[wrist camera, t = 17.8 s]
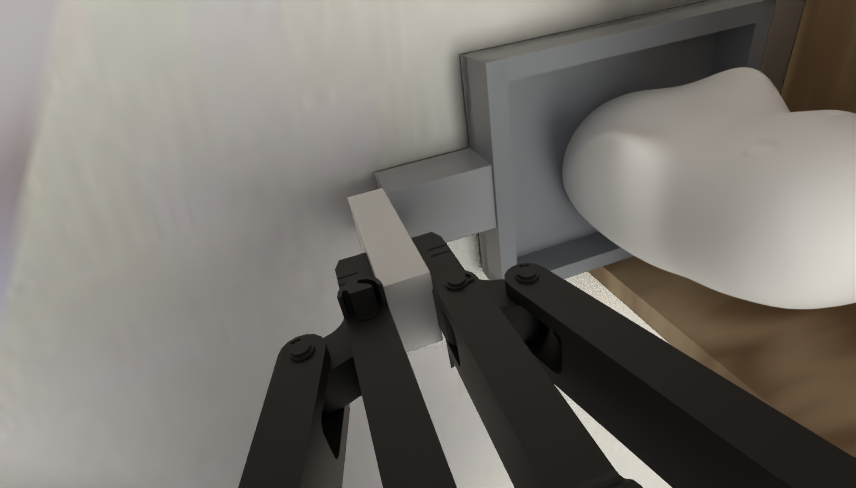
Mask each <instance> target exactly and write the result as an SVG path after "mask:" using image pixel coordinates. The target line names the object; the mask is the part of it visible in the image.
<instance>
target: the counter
mask: <svg viewBox="0 0 856 488" xmlns="http://www.w3.org/2000/svg"><path fill="white" fill-rule="evenodd" d="M781 97H782V99H783V100H784V102H785V104H786V106H787V107H788V109H789V111H790V112H801V111H816V110H840V111H847V112H851V113H856V0H806V2H805V6H804V10H803V13H802V17H801V21H800V24H799V28H798V32H797V35H796V39H795V43H794V47H793V50H792V54H791V58H790V61H789V65H788V69H787V73H786V76H785V80H784V84H783V87H782V91H781ZM588 272H589V273H590V274H591V275H592V276H593V277H595V278H596V279H597V280H598V281H599V282H600V283H601V284H603V285H604V286H605V287H606V288H607V289H608V290H609V291H610V292H612V293H613V294H614V295H615V296H616V297H617V298H618V299H620V300H621V301H622V302H623V303H624V304H625V305H626V306H628V307H629V308H630V309H631V310H632V311H633V312H634V313H635V314H637V315H638V316H639V317H640V318H641V319H642V320H643V321H645V322H646V323H647V324H648V325H649V326H650V327H651V328H652V329H654V330H655V331H656V332H657V333H658V334H659V335H660V336H662V337H663V338H664V339H665V340H666V341H667V342H668V343H669V344H671V345H672V346H673V347H675V348H677V349H678V350H680V351H682V352H683V353H685V354H686V355H688V356H690V357H691V358H693V359H695V360H696V361H698V362H699V363H701V364H703V365H704V366H706V367H708V368H709V369H711V370H713V371H714V372H716V373H717V374H719V375H721V376H722V377H724V378H726V379H727V380H729V381H730V382H732V383H734V384H735V385H737V386H739V387H740V388H742V389H744V390H745V391H747V392H748V393H750V394H752V395H753V396H755V397H757V398H758V399H760V400H761V401H763V402H765V403H766V404H768V405H770V406H771V407H773V408H775V409H776V410H778V411H779V412H781V413H783V414H784V415H786V416H788V417H789V418H791V419H792V420H794V421H796V422H797V423H799V424H801V425H802V426H804V427H806V428H807V429H809V430H810V431H812V432H814V433H815V434H817V435H819V436H820V437H822V438H823V439H825V440H827V441H828V442H830V443H832V444H833V445H835V446H837V447H838V448H840V449H841V450H843V451H845V452H846V453H848V454H850V455H851V456H853V457H856V303H852V304H847V305H842V306H835V307H827V308H818V309H787V308H779V307H773V306H768V305H763V304H759V303H755V302H751V301H747V300H743V299H740V298H736V297H733V296H730V295H727V294H724V293H721V292H718V291H715V290H713V289H711V288H708V287H706V286H704V285H702V284H700V283H697V282H695V281H693V280H691V279H689V278H686V277H683V276H681V275H678V274H674V273H671V272H668V271H666V270H663V269H660V268H658V267H656V266H653V265H651V264H649V263H647V262H645V261H643V260H641V259H639V258H637V257H636V256H632V257H629V258H626V259H623V260H620V261H617V262H614V263H611V264H608V265H605V266H602V267H599V268H596V269H593V270H590V271H588Z"/></svg>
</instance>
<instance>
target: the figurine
mask: <svg viewBox="0 0 856 488" xmlns="http://www.w3.org/2000/svg"><path fill="white" fill-rule="evenodd" d="M562 180H563V185H564V189H565V191H566V193H567V195H568V197H569V199H570V201H571V203H572V204H573V206H574V207H575V208H576V210H577V211H578V212H579V213H580V214H581V215H582V217H583V218H584V219H585V220H586V221H588V222H589V223H590V224H591V225H592V226H593V227H594V228H595V229H597V230H598V231H599V232H600V233H601V234H603V235H604V236H605V237H607V238H608V239H609V240H611V241H612V242H614V243H615V244H616V245H618V246H619V247H621V248H622V249H624V250H626V251H627V252H629V253H630V254H632V255H634V256H636V257H637V258H639V259H641V260H643V261H645V262H647V263H649V264H651V265H653V266H656V267H658V268H660V269H663V270H666V271H668V272H671V273H674V274H678V275H681V276H683V277H686V278H689V279H691V280H693V281H695V282H697V283H700V284H702V285H704V286H706V287H708V288H711V289H713V290H715V291H718V292H721V293H724V294H727V295H730V296H733V297H736V298H740V299H743V300H747V301H751V302H755V303H759V304H763V305H768V306H773V307H779V308H787V309H818V308H827V307H835V306H842V305H847V304H852V303H856V113H851V112H847V111H840V110H816V111H801V112H790V111H789V109H788V107H787V106H786V104H785V102H784V100H783V99H782V97H781V95H780V94H779V92H778V90H777V89H776V87H775V86H774V85H773V83H772V82H771V81H770V79H769V78H768V77H767V76H765V75H764V74H763V73H762V72H760V71H758V70H756V69H753V68H747V67H740V68H733V69H729V70H726V71H723V72H720V73H717V74H714V75H712V76H709V77H707V78H704V79H701V80H699V81H696V82H692V83H689V84H685V85H681V86H676V87H670V88H662V89H651V90H642V91H637V92H632V93H628V94H625V95H622V96H619V97H616V98H614V99H612V100H609V101H607V102H605V103H604V104H602V105H600V106H599V107H598V108H596V109H595V110H594V111H592V112H591V113H590V114H589V115H588V116H587V117H586V118H585V119H584V120H583V121H582V123H581V124H580V125H579V127H578V128H577V129H576V131H575V132H574V134H573V136H572V138H571V139H570V142H569V144H568V146H567V149H566V152H565V155H564V159H563V165H562Z"/></svg>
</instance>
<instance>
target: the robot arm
mask: <svg viewBox="0 0 856 488" xmlns="http://www.w3.org/2000/svg"><path fill="white" fill-rule="evenodd" d="M347 198H348V202H349V205H350V209H351V212H352V216H353V219H354V223H355V226H356V230H357V233H358V237H359V240H360V244H361V247H362V251H363V253H362V254H359V255H356V256H352V257H349V258H345V259H342V260H339V262H338V264H337V267H336V269H335V271H336V276H337V280H338V285H339V289H340V290H339V291H338V296H337V298H338V301H339V304H340V307H341V310H342V313H343V316H344V320H343V322H342V324H341V325H340V326H339V327H338V328H337V329H336V330H335V331H334V332H332V333H331V334H330V335H328V336H326V337H324V338H322V337H321V336H318V335H315V334H305V335H302V336H298V337H296V338H294V339H293V340H291V341H289V342H288V343H287V344H286V345H285V346H284V347H283V348H282V349H281V351H280V353H279V355H278V357H277V361H276V364H275V367H274V371H273V374H272V377H271V381H270V384H269V387H268V391H267V394H266V397H265V401H264V404H263V407H262V411H261V414H260V417H259V421H258V424H257V427H256V431H255V434H254V437H253V441H252V444H251V447H250V451H249V454H248V457H247V461H246V464H245V467H244V471H243V474H242V477H241V481H240V484H239V487H238V488H342V480H343V471H344V461H345V451H346V441H347V431H348V421H349V412H350V407H349V403H351V402H352V401H354V400H355V399H357V398H358V397H359V396H361V395H362V397H363V402H364V406H365V410H366V415H367V419H368V423H369V428H370V432H371V437H372V441H373V445H374V450H375V454H376V459H377V463H378V467H379V472H380V476H381V481H382V485H383V488H457V487H456V484H455V482H454V479H453V476H452V474H451V471H450V468H449V466H448V463H447V460H446V458H445V455H444V452H443V450H442V447H441V444H440V442H439V439H438V436H437V434H436V431H435V428H434V426H433V423H432V420H431V418H430V415H429V412H428V410H427V407H426V404H425V402H424V399H423V396H422V394H421V391H420V388H419V386H418V383H417V380H416V378H415V375H414V372H413V370H412V367H411V365H410V362H409V359H408V357H407V354H406V352H409V351H411V350H414V349H417V348H420V347H423V346H426V345H429V344H432V343H435V342H438V341H441V340H443V337H442V332H443V334H444V336H445V338H446V343H447V348H448V353H449V359H450V364H451V368H452V367H455V366H456V368H457V370H458V372H459V374H460V376H461V378H462V381H463V383H464V385H465V387H466V389H467V391H468V393H469V395H470V397H471V399H472V401H473V403H474V405H475V407H476V409H477V411H478V413H479V415H480V417H481V420H482V422H483V424H484V426H485V428H486V430H487V432H488V434H489V436H490V438H491V440H492V442H493V444H494V446H495V448H496V450H497V452H498V454H499V456H500V459H501V461H502V463H503V465H504V467H505V469H506V471H507V473H508V475H509V477H510V479H511V481H512V483H513V485H514V487H515V488H643V487H642V486H641V485H640V484H638V483H637V482H636V481H634V480H632V479H625V478H623V477H622V476H620V475H619V474H618V472H617V471H616V470H615V469H614V467H613V466H612V465H611V463H610V462H609V460H608V459H607V458H606V456H605V455H604V453H603V452H602V451H601V449H600V448H599V446H598V445H597V444H596V442H595V441H594V439H593V438H592V437H591V435H590V434H589V432H588V431H587V430H586V428H585V427H584V425H583V424H582V423H581V421H580V420H579V418H578V417H577V416H576V414H575V413H574V411H573V410H572V409H571V407H570V406H569V404H568V403H567V402H566V400H565V399H564V397H563V396H562V395H561V393H560V392H559V390H558V389H557V388H556V386H557V387H558V388H559V389H561V390H562V391H563V392H564V393H565V394H566V395H567V396H569V397H570V398H571V399H572V400H573V401H574V402H575V403H577V404H578V405H579V406H580V407H581V408H582V409H583V410H585V411H586V412H587V413H588V414H589V415H590V416H591V417H593V418H594V419H595V420H596V421H597V422H598V423H599V424H601V425H602V426H603V427H604V428H605V429H606V430H607V431H609V432H610V433H611V434H612V435H613V436H614V437H615V438H617V439H618V440H619V441H620V442H621V443H622V444H623V445H624V446H626V447H627V448H628V449H629V450H630V451H631V452H632V453H634V454H635V455H636V456H637V457H638V458H639V459H640V460H642V461H643V462H644V463H645V464H646V465H647V466H648V467H650V468H651V469H652V470H653V471H654V472H655V473H656V474H658V475H659V476H660V477H661V478H662V479H663V480H664V481H666V482H667V483H668V484H669V485H670V486H671V487H672V488H856V457H853V456H851V455H850V454H848V453H846V452H845V451H843V450H841V449H840V448H838V447H837V446H835V445H833V444H832V443H830V442H828V441H827V440H825V439H823V438H822V437H820V436H819V435H817V434H815V433H814V432H812V431H810V430H809V429H807V428H806V427H804V426H802V425H801V424H799V423H797V422H796V421H794V420H792V419H791V418H789V417H788V416H786V415H784V414H783V413H781V412H779V411H778V410H776V409H775V408H773V407H771V406H770V405H768V404H766V403H765V402H763V401H761V400H760V399H758V398H757V397H755V396H753V395H752V394H750V393H748V392H747V391H745V390H744V389H742V388H740V387H739V386H737V385H735V384H734V383H732V382H730V381H729V380H727V379H726V378H724V377H722V376H721V375H719V374H717V373H716V372H714V371H713V370H711V369H709V368H708V367H706V366H704V365H703V364H701V363H699V362H698V361H696V360H695V359H693V358H691V357H690V356H688V355H686V354H685V353H683V352H682V351H680V350H678V349H677V348H675V347H673V346H672V345H670V344H668V343H667V342H665V341H664V340H662V339H660V338H659V337H657V336H655V335H654V334H652V333H651V332H649V331H647V330H646V329H644V328H642V327H641V326H639V325H637V324H636V323H634V322H633V321H631V320H629V319H628V318H626V317H624V316H623V315H621V314H620V313H618V312H616V311H615V310H613V309H611V308H610V307H608V306H606V305H605V304H603V303H602V302H600V301H598V300H597V299H595V298H593V297H592V296H590V295H589V294H587V293H585V292H584V291H582V290H580V289H579V288H577V287H575V286H574V285H572V284H571V283H569V282H567V281H566V280H564V279H562V278H561V277H559V276H558V275H556V274H554V273H553V272H551V271H549V270H548V269H546V268H544V267H543V266H540V265H538V264H533V263H521V264H517V265H514V266H512V267H511V268H509V269H508V270H507V271H506V273H505V275H504V277H505V279H498V280H480V279H478V277H477V276H476V275H475V274H473V273H472V272H469V271H466V270H464V268H463V267H462V265H461V264H460V262H459V261H458V260H457V258H456V257H455V255H454V254H453V252H452V251H451V249H450V248H449V247H448V245H447V244H446V242H445V241H444V239H443V238H442V237H441V236H439V235H437V234H435V233H433V232H429V233H426V234H422V235H419V236H416V237H412V238H410V236H409V234H408V232H407V230H406V229H405V227H404V225H403V223H402V222H401V220H400V218H399V216H398V215H397V213H396V211H395V209H394V207H393V206H392V204H391V202H390V200H389V199H388V197H387V195H386V193H385V192H384V190H383V188H380V189H376V190H373V191H369V192H365V193H362V194H358V195H354V196H351V197H347ZM441 330H442V332H441ZM454 364H455V366H454ZM554 384H555V385H556V386H555V385H554Z"/></svg>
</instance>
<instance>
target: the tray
mask: <svg viewBox="0 0 856 488" xmlns="http://www.w3.org/2000/svg"><path fill="white" fill-rule="evenodd" d="M775 4H776V0H707V1H702V2H698V3H693V4H689V5H684V6H680V7H675V8H671V9H666V10H661V11H657V12H652V13H648V14H643V15H639V16H634V17H630V18H625V19H621V20H616V21H611V22H607V23H602V24H598V25H593V26H589V27H584V28H580V29H575V30H570V31H566V32H561V33H557V34H552V35H548V36H543V37H539V38H534V39H529V40H525V41H520V42H516V43H511V44H507V45H502V46H498V47H493V48H488V49H484V50H479V51H475V52H470V53H466V54H461V55H460V59H461V69H462V78H463V88H464V97H465V107H466V117H467V126H468V136H469V145H470V148H468V149H464V150H460V151H456V152H452V153H448V154H445V155H441V156H437V157H433V158H429V159H425V160H422V161H418V162H414V163H410V164H406V165H402V166H399V167H395V168H391V169H387V170H383V171H379V172H375V177H376V181H377V186H378V189H380V188H383V190H384V192H385V193H386V195H387V197H388V199H389V200H390V202H391V204H392V206H393V207H394V209H395V211H396V213H397V215H398V216H399V218H400V220H401V222H402V223H403V225H404V227H405V229H406V230H407V232H408V234H409V236H410V238H412V237H416V236H419V235H422V234H426V233H429V232H433V233H435V234H437V235H439V236H441V237H442V238H443V239H444V241H445V242H449V241H453V240H456V239H459V238H463V237H466V236H470V235H473V234H476V233H479V241H480V251H481V261H482V270H483V272H484V274H485V275H486V276H487V278H488V279H489V280H498V279H505V277H504V275H505V273H506V271H507V270H508V269H509V268H511V267H512V266H514V265H517V264H521V263H533V264H538V265H540V266H543V267H544V268H546V269H548V270H549V271H551V272H553V273H554V274H556V275H558V276H559V277H561V278H562V279H565V278H568V277H571V276H575V275H578V274H581V273H584V272H587V271H590V270H593V269H596V268H599V267H602V266H605V265H608V264H611V263H614V262H617V261H620V260H623V259H626V258H629V257H632V256H634V255H632V254H630V253H629V252H627V251H626V250H624V249H622V248H621V247H619V246H618V245H616V244H615V243H614V242H612V241H611V240H609V239H608V238H607V237H605V236H604V235H603V234H601V233H600V232H599V231H598V230H597V229H595V228H594V227H593V226H592V225H591V224H590V223H589V222H588V221H586V220H585V219H584V218H583V217H582V215H581V214H580V213H579V212H578V211H577V210H576V208H575V207H574V206H573V204H572V203H571V201H570V199H569V197H568V195H567V193H566V191H565V189H564V185H563V180H562V165H563V159H564V155H565V152H566V149H567V146H568V144H569V142H570V139H571V138H572V136H573V134H574V132H575V131H576V129H577V128H578V127H579V125H580V124H581V123H582V121H583V120H584V119H585V118H586V117H587V116H588V115H589V114H590V113H591V112H592V111H594V110H595V109H596V108H598V107H599V106H600V105H602V104H604V103H605V102H607V101H609V100H612V99H614V98H616V97H619V96H622V95H625V94H628V93H632V92H637V91H642V90H651V89H662V88H670V87H676V86H681V85H685V84H689V83H692V82H696V81H699V80H701V79H704V78H707V77H709V76H712V75H714V74H717V73H720V72H723V71H726V70H729V69H733V68H740V67H747V68H753V69H756V70H758V71H760V67H761V63H762V59H763V54H764V50H765V46H766V42H767V38H768V33H769V29H770V25H771V21H772V17H773V12H774V8H775Z"/></svg>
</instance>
